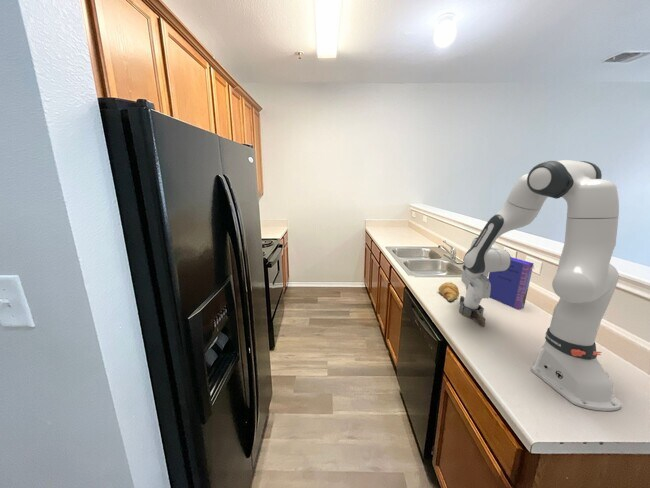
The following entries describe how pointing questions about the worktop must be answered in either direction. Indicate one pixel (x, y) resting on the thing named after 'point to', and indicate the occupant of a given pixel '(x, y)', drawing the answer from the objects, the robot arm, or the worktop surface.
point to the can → (470, 298)
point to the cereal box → (511, 283)
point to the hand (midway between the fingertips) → (472, 298)
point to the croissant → (449, 291)
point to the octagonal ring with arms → (474, 316)
